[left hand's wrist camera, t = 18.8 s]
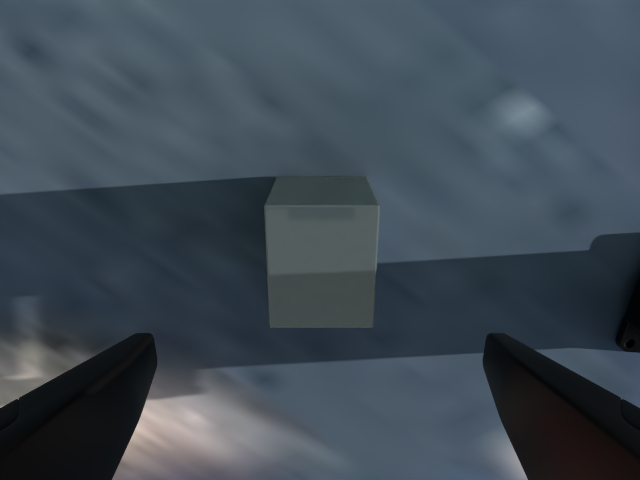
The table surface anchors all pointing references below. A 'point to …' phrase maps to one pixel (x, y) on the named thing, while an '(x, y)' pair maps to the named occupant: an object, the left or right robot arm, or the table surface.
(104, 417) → the left robot arm
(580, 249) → the table surface
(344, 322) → the block
